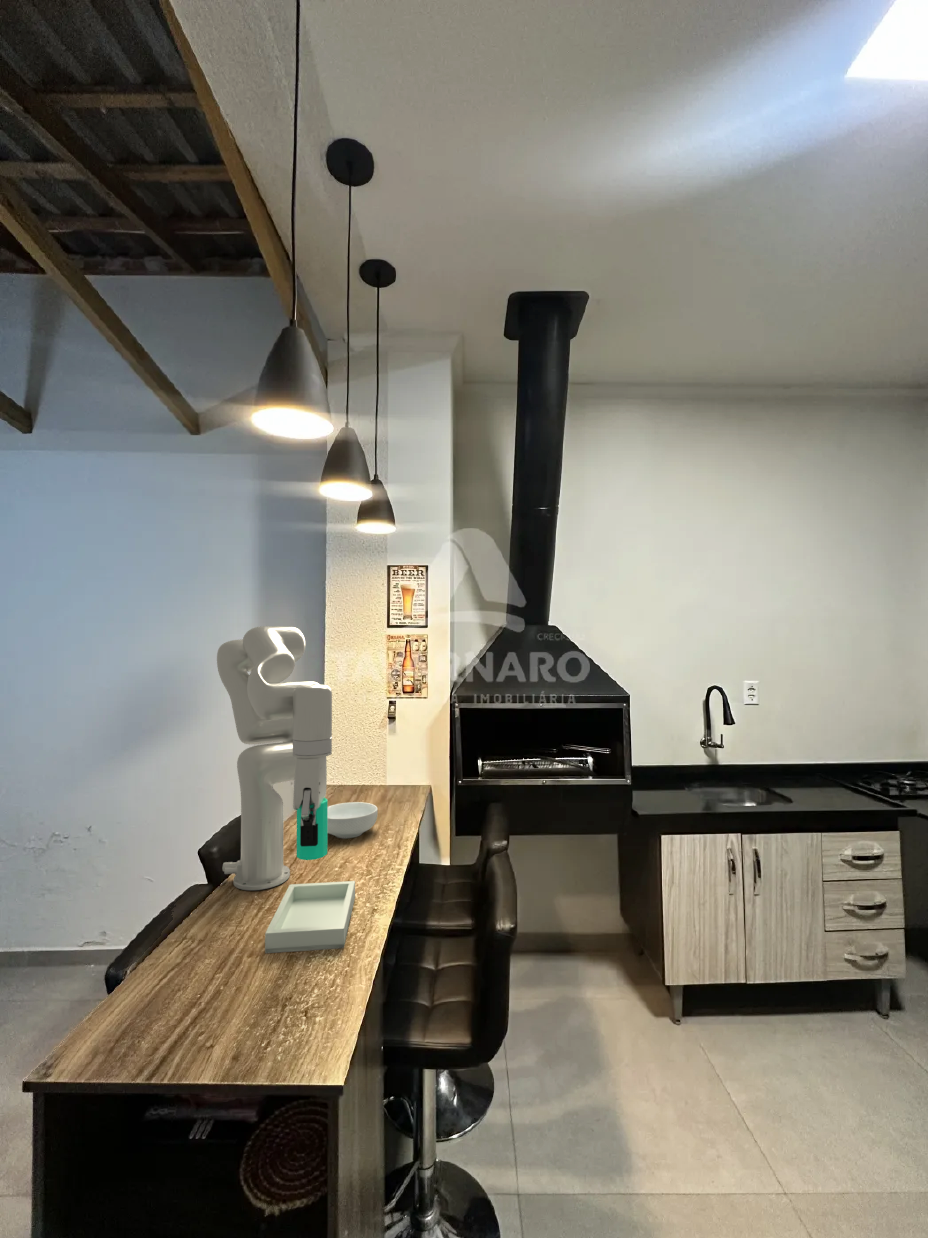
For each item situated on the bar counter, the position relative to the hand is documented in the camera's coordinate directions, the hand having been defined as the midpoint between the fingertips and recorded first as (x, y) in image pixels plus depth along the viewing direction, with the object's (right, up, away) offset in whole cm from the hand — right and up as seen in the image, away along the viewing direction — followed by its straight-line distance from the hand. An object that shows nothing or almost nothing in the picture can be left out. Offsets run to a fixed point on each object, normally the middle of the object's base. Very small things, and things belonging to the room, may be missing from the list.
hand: (311, 839), depth 106 cm
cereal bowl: (-4, -20, +52) cm, 56 cm away
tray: (0, -17, +1) cm, 17 cm away
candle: (0, -3, 0) cm, 3 cm away
